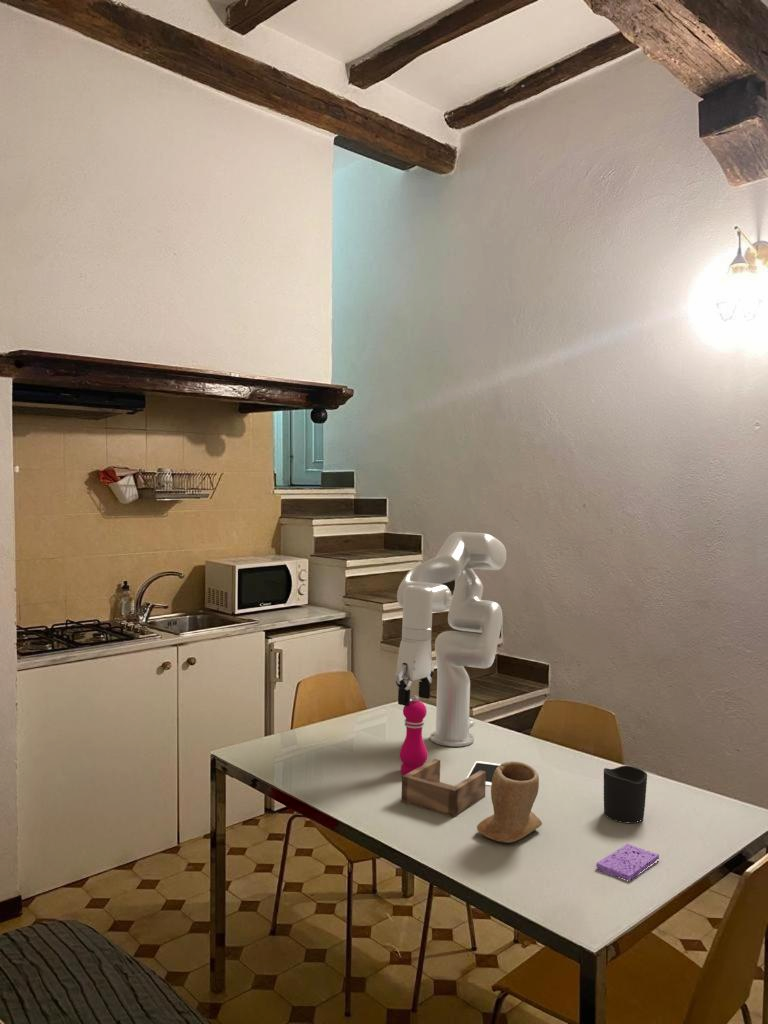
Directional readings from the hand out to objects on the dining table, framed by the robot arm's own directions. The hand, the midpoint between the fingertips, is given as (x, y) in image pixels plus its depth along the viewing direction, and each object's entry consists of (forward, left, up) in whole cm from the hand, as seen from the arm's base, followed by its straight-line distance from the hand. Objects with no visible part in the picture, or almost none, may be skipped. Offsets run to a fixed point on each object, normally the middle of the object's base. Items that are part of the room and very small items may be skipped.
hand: (414, 701), depth 202 cm
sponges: (+15, +60, -19) cm, 65 cm away
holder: (+9, +15, -19) cm, 25 cm away
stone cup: (+16, +36, -19) cm, 44 cm away
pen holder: (-8, +52, -19) cm, 56 cm away
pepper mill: (-1, 0, -19) cm, 19 cm away
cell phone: (-12, +15, -19) cm, 27 cm away
